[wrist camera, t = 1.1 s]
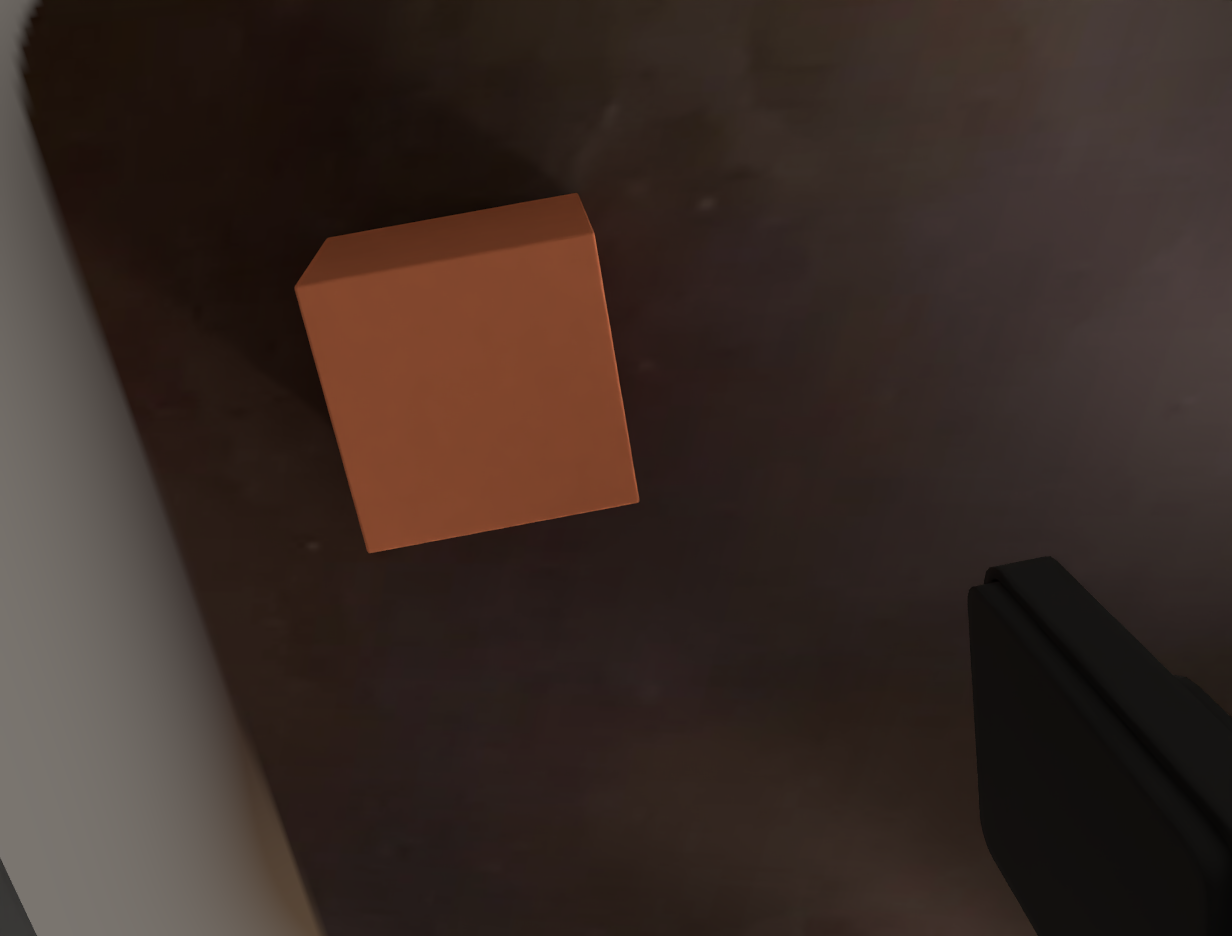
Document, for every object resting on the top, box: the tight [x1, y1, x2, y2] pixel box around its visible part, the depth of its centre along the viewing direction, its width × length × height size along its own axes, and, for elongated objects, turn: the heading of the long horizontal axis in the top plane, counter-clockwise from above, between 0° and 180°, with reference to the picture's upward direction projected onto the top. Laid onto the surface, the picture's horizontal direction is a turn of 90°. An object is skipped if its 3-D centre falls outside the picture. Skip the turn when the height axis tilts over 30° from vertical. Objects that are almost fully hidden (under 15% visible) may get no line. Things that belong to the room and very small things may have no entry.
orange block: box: [294, 193, 639, 553], centre depth 22 cm, size 5×5×4 cm
